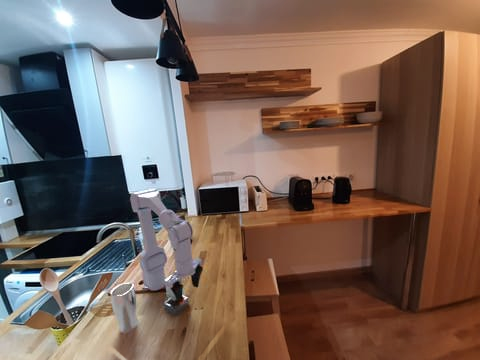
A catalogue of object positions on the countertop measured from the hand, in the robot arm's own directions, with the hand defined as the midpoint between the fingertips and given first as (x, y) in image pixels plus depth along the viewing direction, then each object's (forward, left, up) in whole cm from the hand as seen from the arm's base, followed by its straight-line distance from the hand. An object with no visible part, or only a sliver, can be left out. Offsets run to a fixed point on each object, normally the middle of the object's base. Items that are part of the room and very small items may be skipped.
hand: (188, 293), depth 70 cm
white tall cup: (-16, -13, -10) cm, 23 cm away
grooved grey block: (-7, 0, -3) cm, 8 cm away
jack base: (-7, 0, -9) cm, 12 cm away
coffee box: (-53, +43, -10) cm, 69 cm away
